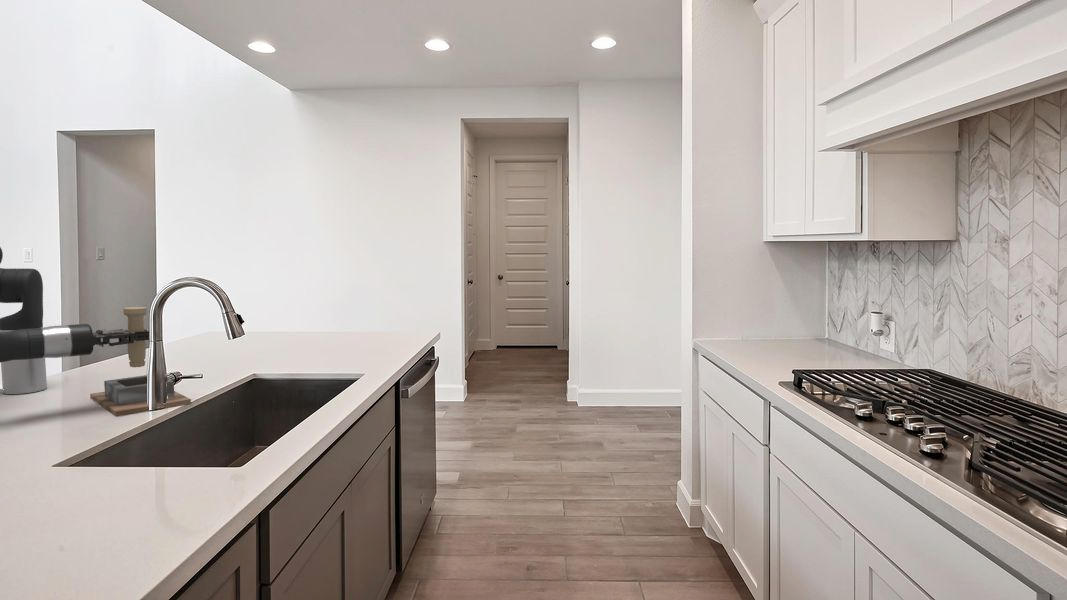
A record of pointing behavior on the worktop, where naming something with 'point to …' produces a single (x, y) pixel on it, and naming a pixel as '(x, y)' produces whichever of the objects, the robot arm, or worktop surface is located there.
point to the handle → (136, 325)
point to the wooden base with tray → (133, 396)
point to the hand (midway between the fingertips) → (148, 334)
